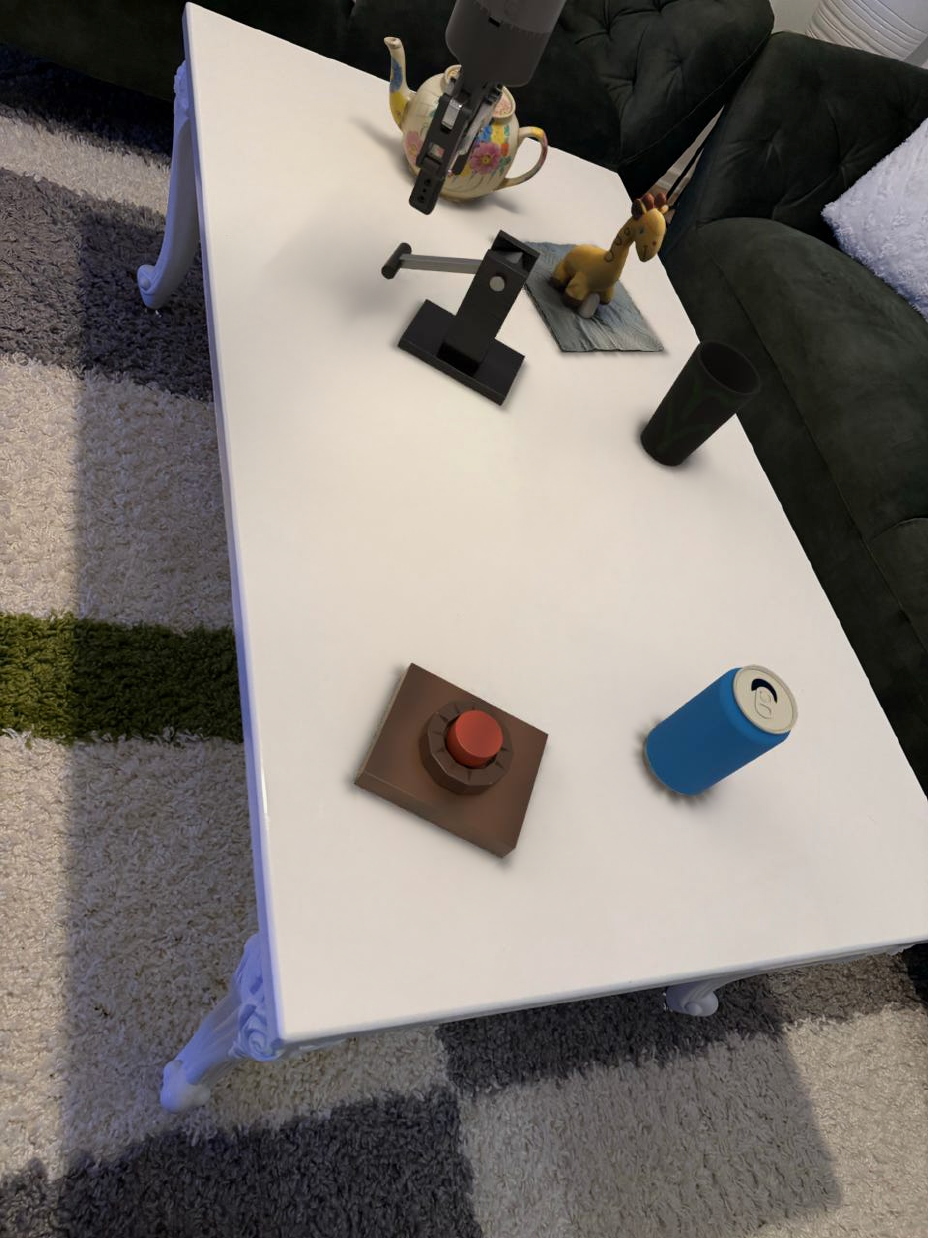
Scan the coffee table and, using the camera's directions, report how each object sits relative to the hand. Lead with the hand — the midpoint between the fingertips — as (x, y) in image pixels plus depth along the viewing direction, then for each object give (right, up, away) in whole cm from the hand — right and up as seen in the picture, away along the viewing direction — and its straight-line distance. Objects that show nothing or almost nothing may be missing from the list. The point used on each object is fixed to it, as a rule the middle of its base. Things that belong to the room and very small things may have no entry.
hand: (435, 188), depth 79 cm
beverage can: (+20, -51, -5) cm, 55 cm away
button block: (+2, -49, -13) cm, 51 cm away
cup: (+24, -20, +18) cm, 36 cm away
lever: (+2, -5, +6) cm, 9 cm away
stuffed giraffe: (+17, 0, +28) cm, 32 cm away
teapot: (-1, +16, +29) cm, 33 cm away
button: (+3, -47, -16) cm, 50 cm away
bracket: (+2, -11, +13) cm, 17 cm away
